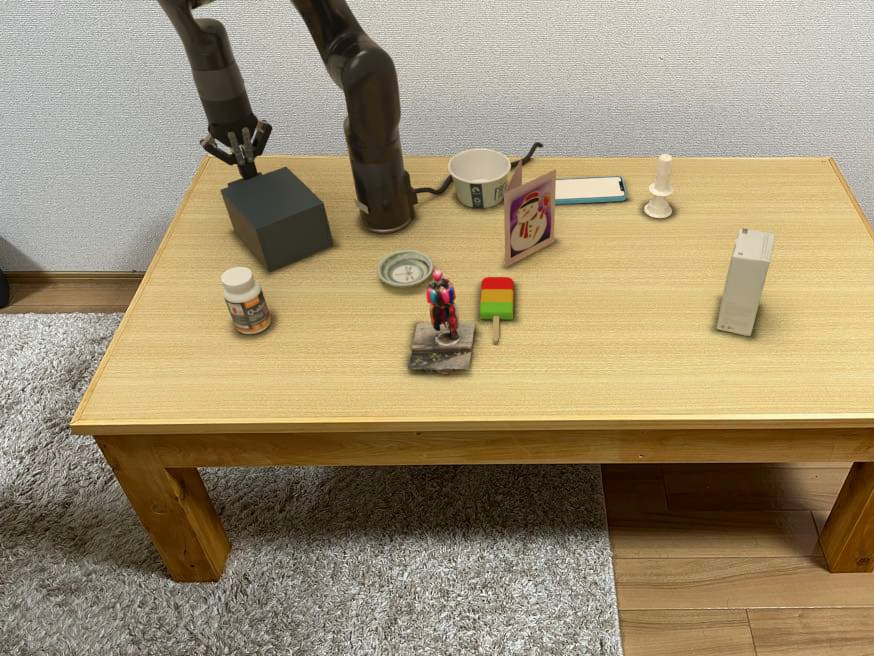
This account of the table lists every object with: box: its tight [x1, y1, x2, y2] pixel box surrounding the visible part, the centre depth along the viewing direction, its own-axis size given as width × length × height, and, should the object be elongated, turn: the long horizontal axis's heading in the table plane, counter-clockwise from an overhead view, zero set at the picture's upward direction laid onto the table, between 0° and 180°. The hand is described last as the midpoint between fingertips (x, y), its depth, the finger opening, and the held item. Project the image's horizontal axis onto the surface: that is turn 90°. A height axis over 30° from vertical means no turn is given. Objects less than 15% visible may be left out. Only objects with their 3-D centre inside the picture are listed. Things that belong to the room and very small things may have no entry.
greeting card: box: [503, 157, 557, 268], centre depth 134 cm, size 11×7×15 cm, turn 131°
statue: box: [406, 268, 476, 375], centre depth 117 cm, size 11×9×15 cm
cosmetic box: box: [716, 227, 776, 337], centre depth 122 cm, size 8×6×15 cm
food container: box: [447, 148, 512, 209], centre depth 148 cm, size 12×12×6 cm
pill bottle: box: [220, 266, 272, 335], centre depth 121 cm, size 6×6×10 cm
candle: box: [643, 153, 675, 219], centre depth 143 cm, size 5×5×12 cm
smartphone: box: [555, 175, 627, 205], centre depth 151 cm, size 8×1×15 cm
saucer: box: [376, 249, 434, 289], centre depth 133 cm, size 10×10×2 cm
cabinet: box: [219, 166, 335, 273], centre depth 137 cm, size 15×13×9 cm
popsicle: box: [479, 276, 515, 342], centre depth 127 cm, size 6×15×2 cm, turn 0°
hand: (250, 179), depth 141 cm, fingers closed
